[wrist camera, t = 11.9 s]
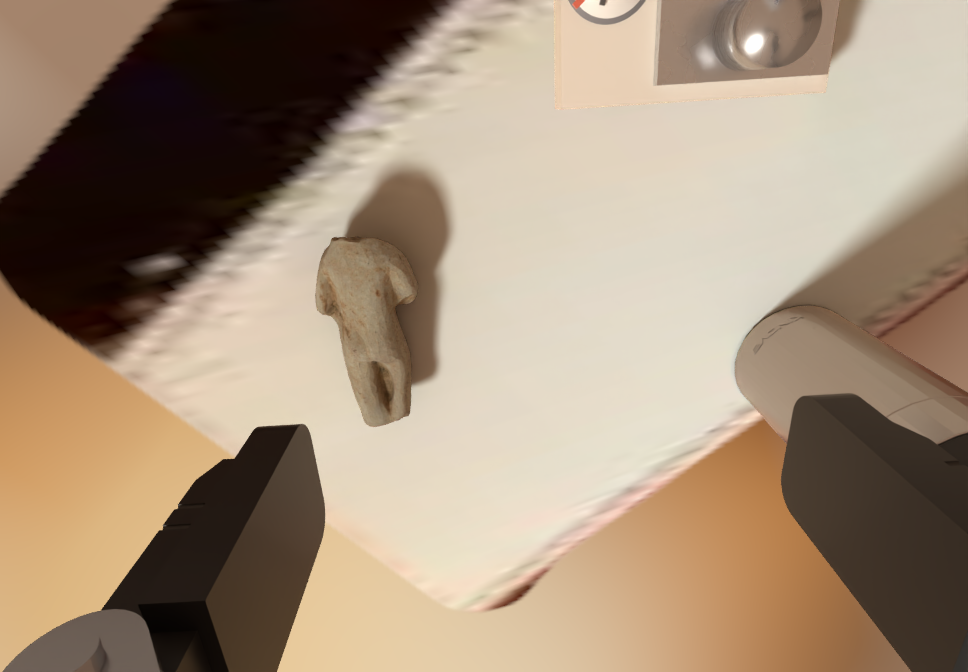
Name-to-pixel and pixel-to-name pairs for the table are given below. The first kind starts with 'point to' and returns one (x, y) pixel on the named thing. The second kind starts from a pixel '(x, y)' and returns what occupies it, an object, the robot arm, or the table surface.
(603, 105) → the scale housing
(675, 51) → the scale pan
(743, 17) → the cylinder
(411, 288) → the sculpture
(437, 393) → the table surface
